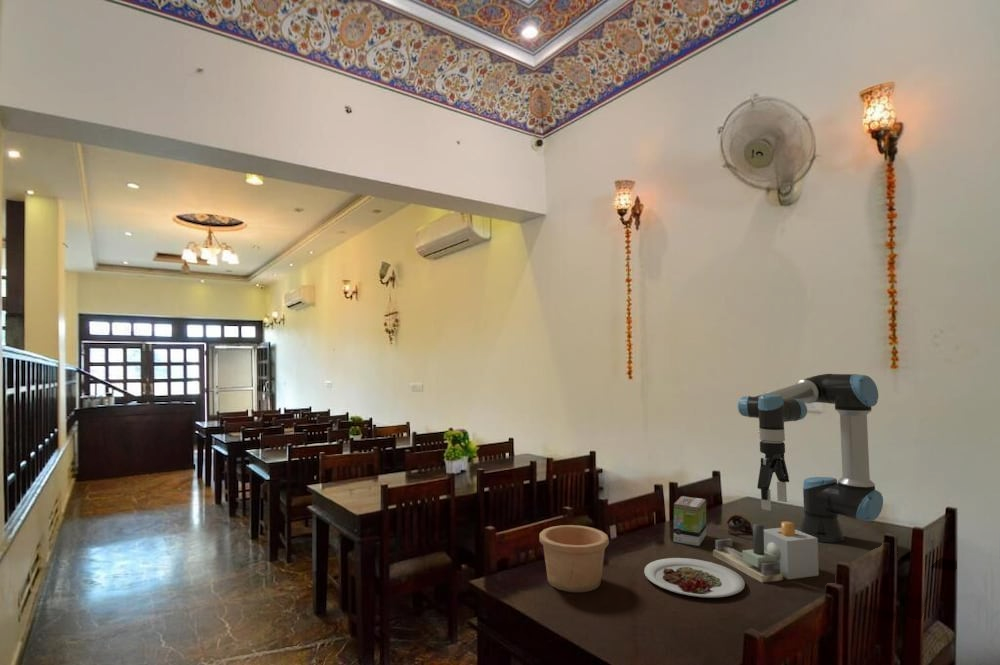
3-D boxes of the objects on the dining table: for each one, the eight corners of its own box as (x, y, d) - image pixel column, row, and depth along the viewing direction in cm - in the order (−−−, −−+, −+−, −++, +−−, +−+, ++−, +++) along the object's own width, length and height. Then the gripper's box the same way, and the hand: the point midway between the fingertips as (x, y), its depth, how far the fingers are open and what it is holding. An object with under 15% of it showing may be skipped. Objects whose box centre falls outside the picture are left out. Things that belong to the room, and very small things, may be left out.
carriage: (760, 557, 180) (759, 521, 180) (776, 565, 173) (775, 527, 174) (742, 559, 178) (741, 522, 179) (757, 567, 171) (756, 529, 172)
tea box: (700, 547, 201) (699, 507, 202) (672, 542, 206) (672, 503, 207) (706, 535, 214) (706, 498, 215) (681, 531, 219) (680, 494, 220)
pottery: (622, 581, 170) (621, 535, 171) (581, 603, 154) (580, 552, 155) (567, 563, 185) (567, 520, 186) (525, 581, 169) (525, 535, 170)
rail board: (732, 553, 194) (731, 538, 194) (782, 580, 171) (782, 562, 171) (713, 555, 192) (712, 540, 192) (761, 582, 169) (761, 564, 169)
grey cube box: (789, 562, 186) (789, 526, 187) (818, 575, 174) (817, 538, 175) (759, 565, 183) (759, 529, 183) (787, 579, 171) (786, 541, 172)
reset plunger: (788, 546, 182) (788, 520, 182) (798, 550, 178) (797, 524, 178) (779, 547, 181) (778, 521, 181) (788, 551, 177) (787, 525, 177)
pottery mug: (759, 538, 212) (751, 521, 211) (736, 547, 214) (728, 531, 212) (747, 521, 224) (739, 505, 223) (725, 530, 225) (717, 514, 224)
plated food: (710, 560, 188) (709, 551, 188) (766, 598, 158) (766, 586, 158) (629, 566, 183) (629, 556, 183) (672, 606, 153) (672, 594, 153)
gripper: (774, 435, 191) (777, 496, 190) (744, 444, 174) (747, 510, 173) (797, 438, 185) (800, 500, 184) (768, 447, 168) (771, 515, 167)
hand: (774, 505), depth 179 cm, fingers open, 13 cm apart
